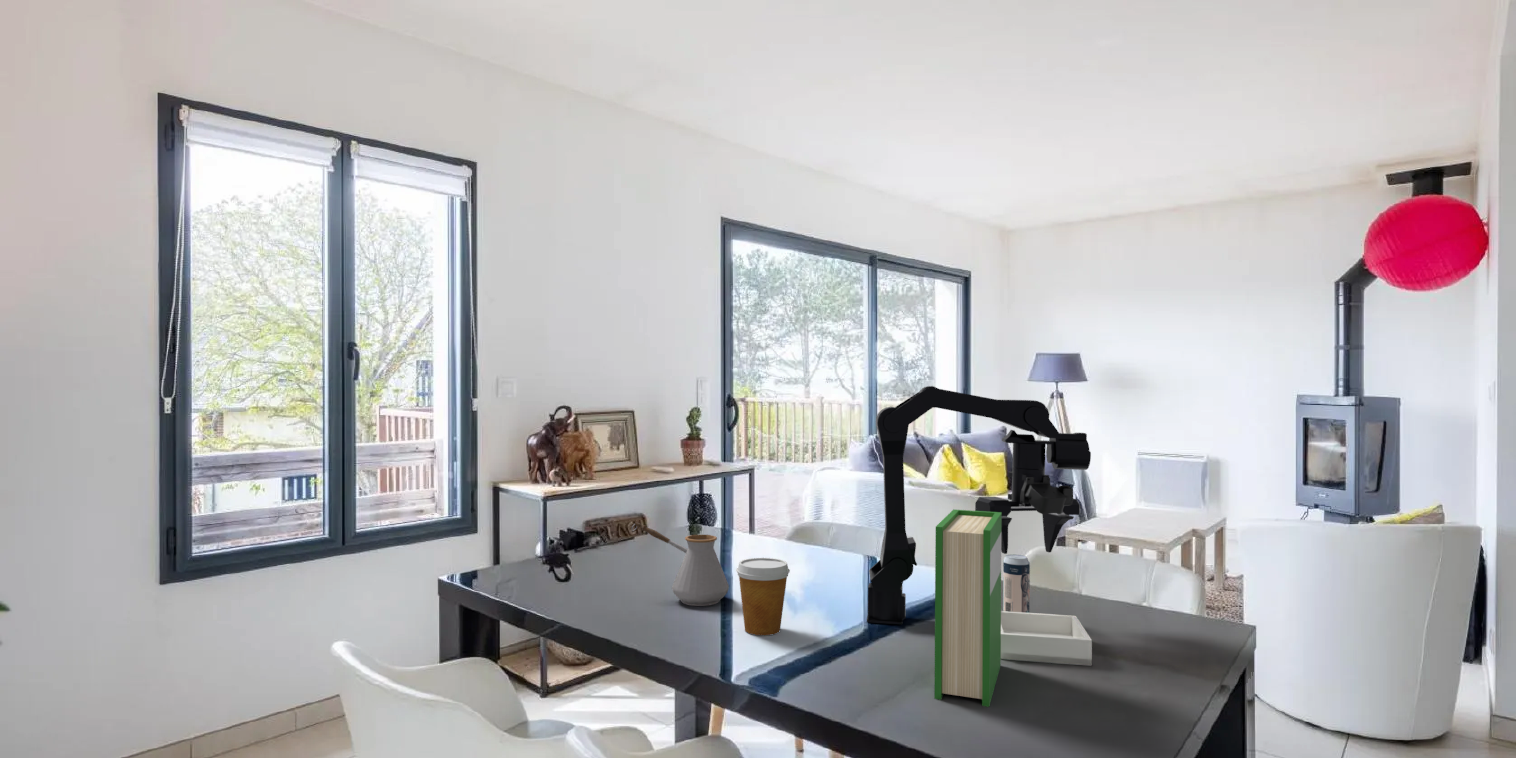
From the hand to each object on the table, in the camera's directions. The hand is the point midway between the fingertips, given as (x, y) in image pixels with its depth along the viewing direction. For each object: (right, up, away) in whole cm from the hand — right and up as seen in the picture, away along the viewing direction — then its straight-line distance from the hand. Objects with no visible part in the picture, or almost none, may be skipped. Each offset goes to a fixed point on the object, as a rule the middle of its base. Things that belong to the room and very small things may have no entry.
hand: (1026, 552), depth 149 cm
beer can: (-1, -13, +2) cm, 14 cm away
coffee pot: (-66, -13, +16) cm, 69 cm away
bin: (-3, -13, -14) cm, 19 cm away
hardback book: (-18, -13, -29) cm, 37 cm away
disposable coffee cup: (-49, -13, -5) cm, 51 cm away
